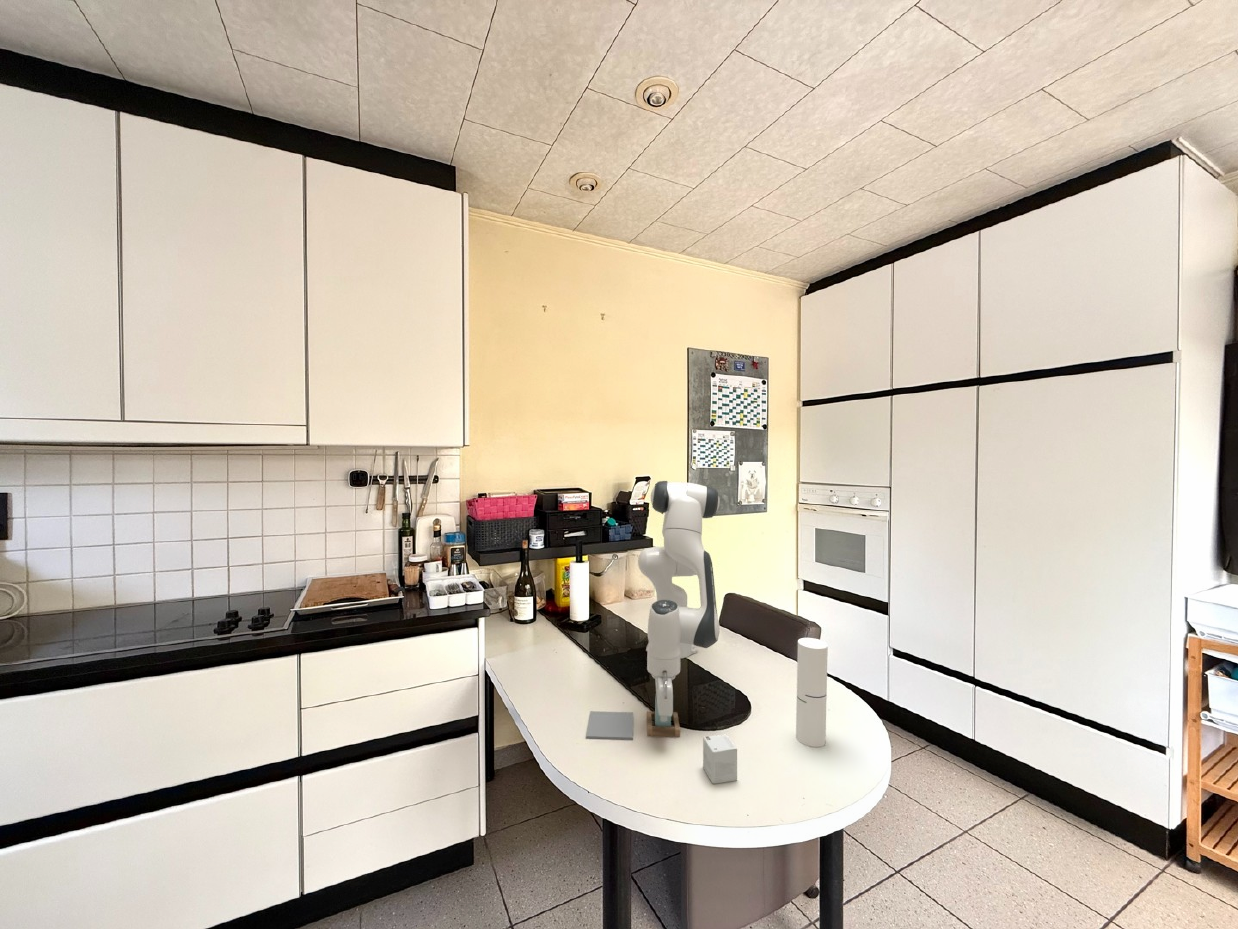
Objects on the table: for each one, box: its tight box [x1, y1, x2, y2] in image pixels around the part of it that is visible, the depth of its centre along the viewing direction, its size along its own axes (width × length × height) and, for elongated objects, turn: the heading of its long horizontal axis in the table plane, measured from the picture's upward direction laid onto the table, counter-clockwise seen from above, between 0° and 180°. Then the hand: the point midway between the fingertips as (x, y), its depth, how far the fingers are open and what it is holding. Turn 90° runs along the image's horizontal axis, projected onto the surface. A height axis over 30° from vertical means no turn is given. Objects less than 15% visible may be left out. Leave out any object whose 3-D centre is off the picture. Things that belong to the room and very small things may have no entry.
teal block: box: [654, 693, 672, 727], centre depth 130 cm, size 4×4×8 cm
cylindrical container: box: [795, 637, 829, 748], centre depth 125 cm, size 7×7×25 cm
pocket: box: [646, 711, 681, 738], centre depth 130 cm, size 8×8×2 cm
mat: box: [585, 710, 634, 741], centre depth 130 cm, size 12×12×1 cm
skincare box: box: [702, 733, 738, 785], centre depth 111 cm, size 6×6×7 cm
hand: (663, 714), depth 130 cm, fingers closed on teal block, 4 cm apart
